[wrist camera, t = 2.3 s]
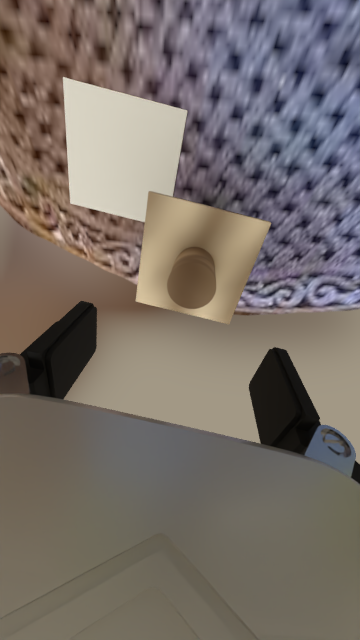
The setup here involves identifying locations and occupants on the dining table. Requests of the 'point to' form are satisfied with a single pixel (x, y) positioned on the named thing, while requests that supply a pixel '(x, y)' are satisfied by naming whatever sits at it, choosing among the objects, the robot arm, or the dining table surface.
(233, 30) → the dining table surface
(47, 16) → the dining table surface
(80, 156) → the white flat block
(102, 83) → the dining table surface
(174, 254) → the wooden lid
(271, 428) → the robot arm
